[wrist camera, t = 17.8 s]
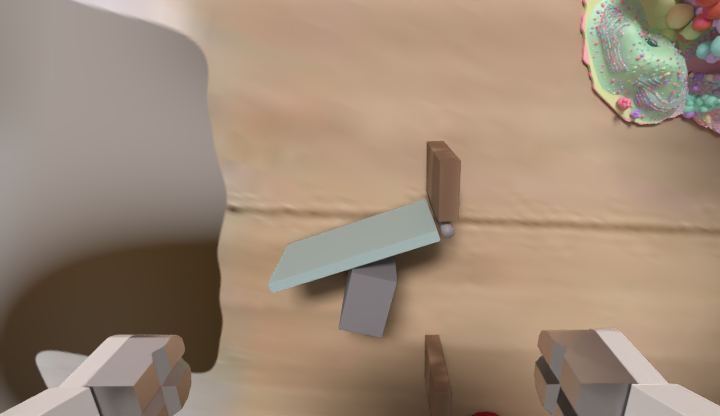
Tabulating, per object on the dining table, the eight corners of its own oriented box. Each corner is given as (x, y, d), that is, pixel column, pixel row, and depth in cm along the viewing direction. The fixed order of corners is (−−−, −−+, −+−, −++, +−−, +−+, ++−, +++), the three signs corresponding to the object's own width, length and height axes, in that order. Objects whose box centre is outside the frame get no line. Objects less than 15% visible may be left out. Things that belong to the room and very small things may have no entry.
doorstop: (393, 238, 42) (397, 282, 33) (380, 285, 44) (381, 337, 36) (357, 231, 42) (351, 272, 33) (346, 278, 44) (338, 329, 35)
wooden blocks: (443, 141, 38) (460, 161, 30) (437, 375, 48) (449, 437, 40) (426, 141, 38) (439, 161, 30) (424, 375, 48) (434, 437, 40)
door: (440, 203, 40) (455, 235, 32) (291, 252, 42) (272, 293, 35) (438, 194, 39) (452, 225, 32) (287, 244, 42) (267, 283, 34)
